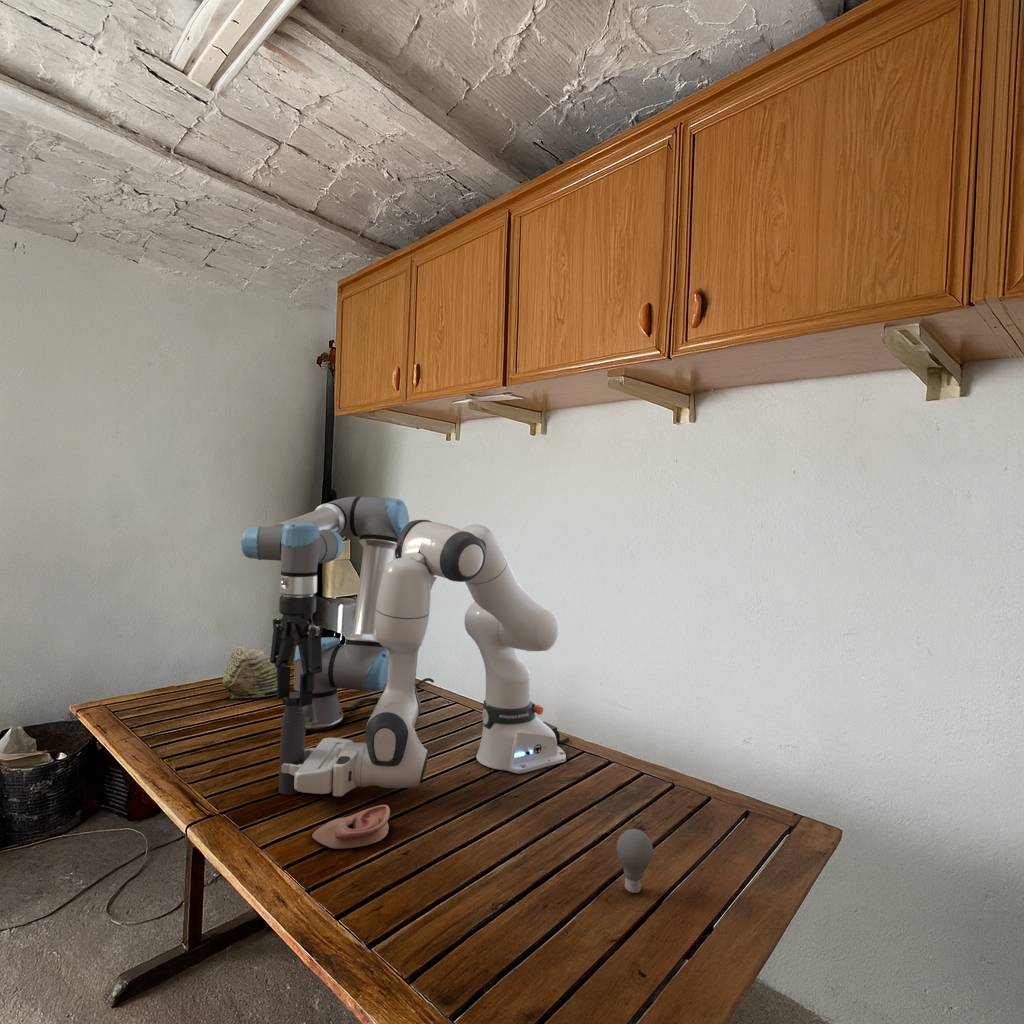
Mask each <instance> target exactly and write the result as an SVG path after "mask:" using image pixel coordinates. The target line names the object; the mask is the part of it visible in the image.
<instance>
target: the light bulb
mask: <svg viewBox="0 0 1024 1024" xmlns="http://www.w3.org/2000/svg"><path fill="white" fill-rule="evenodd" d="M615 849H616V854H617V857H618V859H619V861H620V863H621V865H622V867H623V873H624V874H623V875H624V876H625V878H624V888H625V890H627V891H628V892H630V893H634V894H635V893H639V892H640V891H641V889H642V887H641V886H642V879H643V877H644V875H645V871H646V868H647V867H648V866H649V864H650V863H651V861H652V859H653V855H654V847H653V843H652V841H651V838H649V836H648V835H647V834H646V833H645V832H643V831H642V830H641V829H636V828H629V829H627V830H625V831H623V832H622V833H621V834H620V835H619V837H618V839H617V841H616V847H615Z"/></svg>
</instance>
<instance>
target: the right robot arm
mask: <svg viewBox="0 0 1024 1024" xmlns="http://www.w3.org/2000/svg"><path fill="white" fill-rule="evenodd" d="M394 557H395V559H393V560H392V561H391V562H389V563H388V564H387V566H386V568H385V570H384V573H383V576H382V580H381V583H380V588H379V592H378V598H377V605H376V614H375V630H376V639H377V640H378V642H379V643H380V644H381V645H382V646H383V647H384V648H386V649H387V650H388V651H389V664H388V678H387V683H386V685H385V686H384V689H383V690H382V692H381V693H380V696H378V697H379V700H377V702H376V705H375V707H374V709H373V711H372V713H371V715H370V716H369V719H368V721H367V723H366V725H365V741H366V742H355V741H353V740H351V739H348V738H339V737H325V738H324V737H323V738H322V739H321V741H320V742H319V743H318V744H317V745H316V746H315V747H310V748H305V752H304V763H303V764H298V765H295V764H292V762H285V763H284V764H283V765H282V766H281V772H282V773H289V774H291V775H293V776H295V777H294V789H295V790H297V791H299V793H305V794H314V795H315V794H318V795H326V794H330V793H332V796H333V797H343V796H344V795H345V794H347V793H348V792H350V791H351V790H354V789H356V788H366V787H367V788H368V787H372V786H374V787H379V788H382V789H409V788H414V787H417V786H419V785H421V784H422V782H423V779H424V776H425V772H426V768H427V764H428V761H429V751H428V749H427V748H425V746H424V745H423V744H422V742H421V741H420V739H419V737H418V735H417V732H416V729H415V726H416V723H417V721H418V719H419V718H420V715H421V712H422V703H421V699H420V696H419V693H418V690H417V687H416V685H415V684H416V678H417V666H418V655H419V650H420V648H421V646H422V645H423V642H424V640H425V637H426V633H427V629H428V626H429V625H428V624H429V620H430V611H431V598H432V597H431V596H432V593H431V591H432V589H433V586H434V584H435V582H436V580H437V578H438V577H441V578H444V579H446V580H448V581H451V582H458V583H465V585H466V587H467V589H468V591H469V593H470V595H471V596H472V599H473V601H474V602H472V603H471V604H470V605H469V606H468V608H467V609H466V612H465V615H464V629H465V631H466V633H467V635H469V637H470V638H471V639H472V640H473V641H474V643H475V644H476V646H477V648H478V650H479V652H480V656H481V658H482V661H483V665H484V670H485V699H484V700H483V703H482V705H483V706H482V732H481V738H480V741H479V747H478V750H477V752H476V755H475V756H476V761H477V762H478V763H479V764H481V765H483V766H485V767H487V768H490V769H494V770H499V771H507V772H510V773H514V774H518V775H519V774H520V775H521V774H522V775H523V774H526V773H529V772H532V771H537V770H541V769H544V768H548V767H551V766H555V765H559V764H563V763H566V761H567V755H566V752H565V751H564V750H563V748H561V747H560V746H558V744H559V745H564V744H565V743H566V742H569V741H570V737H565V738H563V739H560V738H561V736H560V735H561V734H560V732H559V731H558V726H555V725H553V724H551V723H550V722H549V723H548V722H546V721H542V720H541V719H540V718H538V716H541V715H542V714H543V713H544V711H545V709H544V707H543V706H541V705H540V704H536V703H535V702H532V701H531V698H530V697H531V678H532V676H531V675H532V674H531V672H530V670H529V668H528V666H527V665H526V664H525V663H524V662H523V661H522V660H521V659H520V657H519V656H518V654H517V652H516V650H520V651H526V652H547V651H549V650H550V649H551V648H553V647H554V645H555V644H556V643H557V641H558V639H559V635H560V623H559V620H558V617H557V615H556V614H555V613H554V612H553V611H551V610H549V609H548V608H546V607H544V606H542V604H540V603H539V602H537V601H536V600H535V599H534V598H533V597H532V595H530V594H529V593H528V591H526V589H524V588H523V586H522V585H521V584H520V583H519V581H518V580H517V578H516V576H515V573H514V572H513V570H512V568H511V565H510V563H509V561H508V558H507V556H506V554H505V551H504V550H503V548H502V546H501V544H500V542H499V541H498V539H497V538H496V536H495V535H494V533H493V532H492V531H491V530H490V529H489V528H488V527H487V526H485V525H483V524H479V523H478V524H470V525H467V526H465V527H463V528H461V529H460V528H457V527H455V526H452V525H450V524H445V523H439V522H434V521H431V520H428V519H416V520H412V521H411V520H410V521H409V523H408V524H407V525H406V526H405V527H404V528H403V529H402V531H401V533H400V535H399V537H398V540H397V546H396V549H395V551H394ZM436 576H437V577H436ZM537 715H538V716H537Z"/></svg>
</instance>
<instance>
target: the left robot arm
mask: <svg viewBox="0 0 1024 1024" xmlns="http://www.w3.org/2000/svg"><path fill="white" fill-rule="evenodd" d="M409 522H410V516H409V511H408V507H407V505H406V504H405V502H404V501H403V500H402V499H399V498H391V497H376V496H372V497H370V496H347V497H342V498H338V499H334V500H331V501H328V502H325V503H322V504H320V505H319V506H317V507H316V508H315V509H314V510H313V511H310V512H307V513H305V514H302V515H299V516H296V517H294V518H290V519H288V520H285V521H283V522H282V521H281V522H279V523H277V524H273V525H270V526H260V525H259V526H250V527H248V528H246V529H245V530H244V532H243V533H242V536H241V539H240V548H241V549H240V550H241V552H242V554H243V555H244V556H245V557H246V558H247V559H251V560H253V559H254V560H258V561H278V562H279V561H280V582H279V583H280V585H279V593H280V594H281V596H279V602H278V603H279V604H278V613H280V614H281V615H282V616H281V617H279V618H273V619H272V629H273V630H272V639H271V649H270V656H269V658H270V662H271V663H272V664H273V663H274V664H275V667H276V668H277V694H276V699H277V700H283V695H284V694H286V693H290V692H291V691H290V690H291V663H290V659H291V655H292V652H293V650H294V649H293V648H294V646H295V645H296V647H295V652H294V653H295V654H294V659H293V661H294V672H293V692H300V700H299V706H300V707H302V708H303V711H304V714H305V720H306V725H305V733H316V732H325V731H329V730H332V729H335V728H337V727H339V726H340V725H342V723H343V722H344V713H343V711H351V710H353V709H355V708H356V707H358V706H359V705H360V704H362V703H366V702H371V701H372V702H374V701H375V702H376V701H377V702H378V700H379V697H380V696H374V697H366V698H362V699H359V700H358V701H355V703H354V704H353V705H351V706H341V702H340V699H339V695H338V689H342V690H343V689H345V690H352V691H353V690H356V691H362V692H379V691H381V690H382V689H383V688H385V687H386V685H387V678H388V664H389V651H388V650H387V649H386V648H384V647H383V646H382V645H381V644H380V643H379V642H378V640H377V639H376V630H375V614H376V605H377V598H378V592H379V588H380V583H381V580H382V576H383V573H384V570H385V568H386V566H387V564H388V563H389V562H391V561H392V560H394V557H395V549H396V546H397V540H398V537H399V535H400V533H401V531H402V529H403V528H404V527H405V526H406V525H407V524H408V523H409ZM342 536H347V537H348V536H349V537H359V539H358V542H359V543H360V545H361V546H362V547H363V550H362V558H361V565H360V574H359V582H358V588H357V597H356V604H355V611H354V620H353V625H352V632H351V634H350V635H348V636H347V637H346V638H345V644H341V641H340V639H339V638H338V637H334V636H331V637H330V636H327V637H326V636H325V637H322V634H323V630H324V629H323V626H322V625H316V624H315V623H314V620H313V616H314V615H313V614H315V613H316V612H317V596H316V594H317V593H318V568H319V567H318V565H319V564H324V563H325V564H328V563H331V562H332V561H335V560H337V559H338V558H339V557H340V556H341V555H342V553H343V551H344V547H345V546H344V545H345V544H344V540H343V538H342ZM426 682H430V683H435V680H434V679H433V678H431V677H425V678H423V679H422V680H420V681H419V682H417V683H415V685H416V688H418V687H419V686H420V685H422V684H423V683H426Z"/></svg>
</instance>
